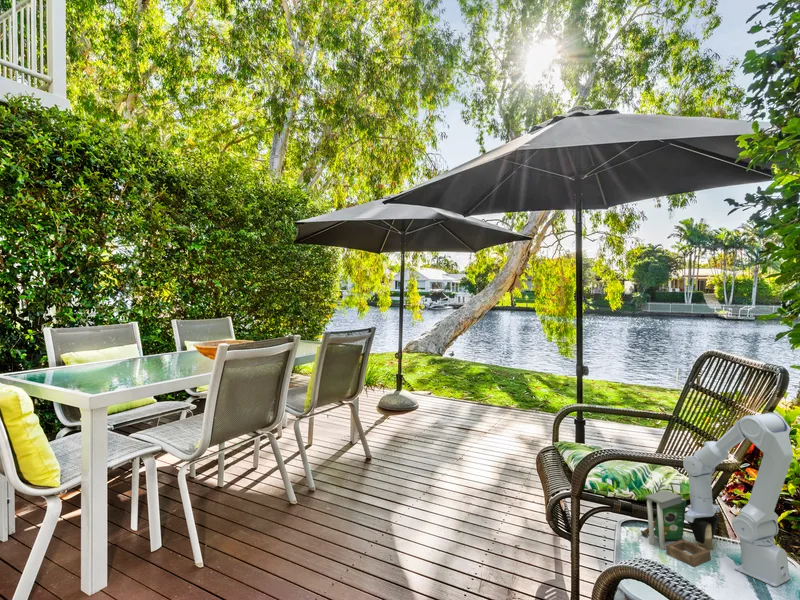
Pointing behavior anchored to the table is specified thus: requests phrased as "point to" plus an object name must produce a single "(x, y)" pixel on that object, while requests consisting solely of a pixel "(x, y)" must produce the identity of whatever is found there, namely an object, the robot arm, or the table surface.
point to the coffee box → (672, 521)
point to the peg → (707, 538)
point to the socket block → (694, 560)
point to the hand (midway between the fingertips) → (704, 540)
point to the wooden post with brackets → (648, 530)
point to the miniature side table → (660, 512)
